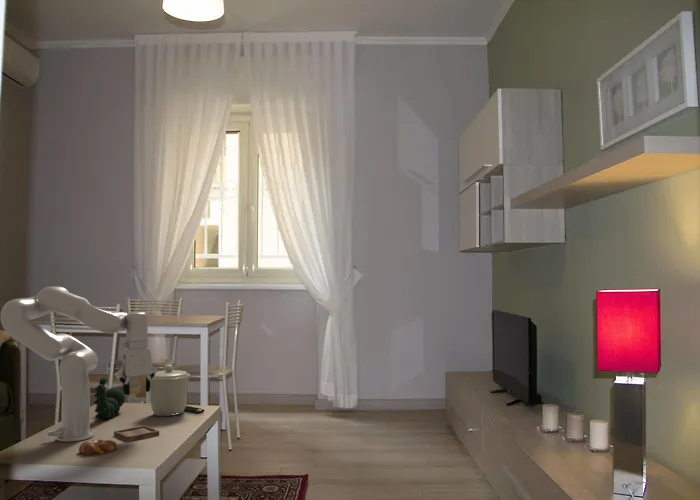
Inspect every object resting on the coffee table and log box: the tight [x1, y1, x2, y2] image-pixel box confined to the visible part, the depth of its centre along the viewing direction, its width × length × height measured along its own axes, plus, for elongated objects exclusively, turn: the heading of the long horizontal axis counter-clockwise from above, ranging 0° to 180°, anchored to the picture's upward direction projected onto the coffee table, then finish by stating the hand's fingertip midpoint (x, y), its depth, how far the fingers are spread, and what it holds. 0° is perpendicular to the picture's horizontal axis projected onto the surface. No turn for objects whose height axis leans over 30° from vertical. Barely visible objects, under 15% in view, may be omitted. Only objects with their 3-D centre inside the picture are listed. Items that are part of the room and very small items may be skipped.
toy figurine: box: [93, 376, 126, 419], centre depth 249 cm, size 9×19×25 cm
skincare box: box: [126, 375, 147, 404], centre depth 217 cm, size 6×4×12 cm
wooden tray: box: [113, 425, 160, 443], centre depth 216 cm, size 12×12×2 cm
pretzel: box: [78, 439, 118, 457], centre depth 197 cm, size 12×11×4 cm
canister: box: [149, 364, 191, 417], centre depth 251 cm, size 18×18×21 cm
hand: (136, 392), depth 217 cm, fingers closed on skincare box, 7 cm apart
